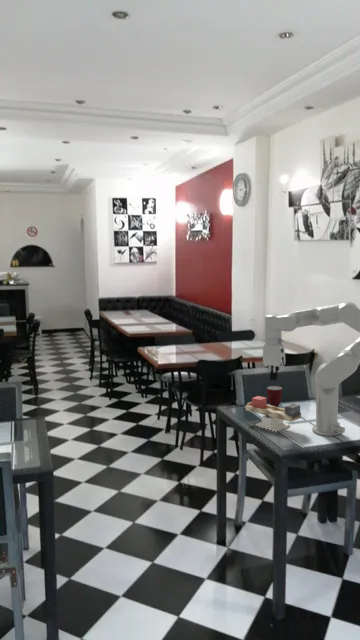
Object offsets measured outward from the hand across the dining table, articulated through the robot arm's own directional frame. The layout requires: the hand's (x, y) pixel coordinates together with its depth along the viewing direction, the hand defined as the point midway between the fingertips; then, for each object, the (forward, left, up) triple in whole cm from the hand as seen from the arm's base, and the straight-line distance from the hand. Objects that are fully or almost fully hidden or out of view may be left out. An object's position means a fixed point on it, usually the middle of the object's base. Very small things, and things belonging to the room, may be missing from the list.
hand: (273, 379), depth 240 cm
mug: (+18, -26, -23) cm, 39 cm away
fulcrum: (0, 0, -23) cm, 23 cm away
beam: (0, 0, -17) cm, 17 cm away
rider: (+8, 0, -15) cm, 17 cm away
